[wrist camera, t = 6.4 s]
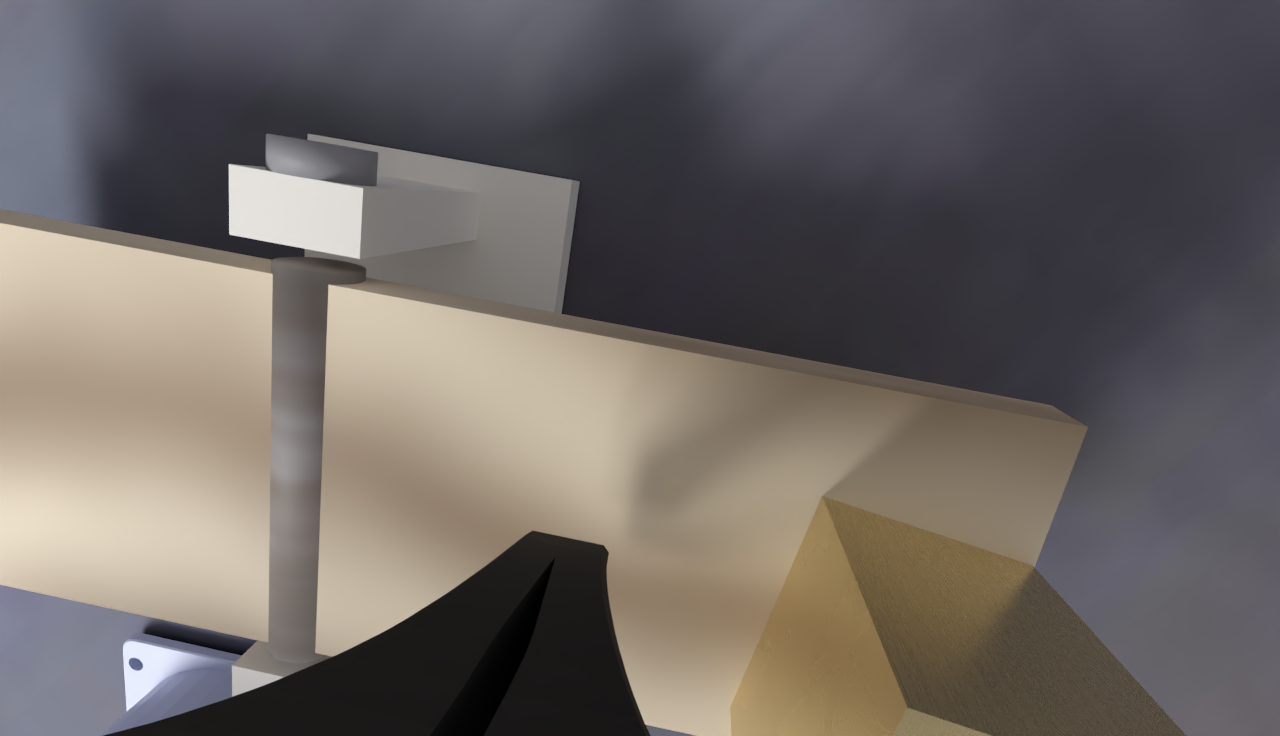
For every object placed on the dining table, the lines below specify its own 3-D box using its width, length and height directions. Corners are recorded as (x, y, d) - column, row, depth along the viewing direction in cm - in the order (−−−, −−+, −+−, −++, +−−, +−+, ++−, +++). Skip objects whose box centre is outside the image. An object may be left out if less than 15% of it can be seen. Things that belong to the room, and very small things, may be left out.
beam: (894, 671, 16) (949, 807, 13) (-106, 462, 18) (-315, 531, 14) (997, 363, 14) (1099, 419, 11) (-156, 151, 16) (-421, 136, 12)
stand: (522, 596, 20) (434, 787, 14) (315, 552, 21) (131, 717, 14) (579, 181, 17) (497, 168, 10) (329, 137, 17) (94, 97, 11)
